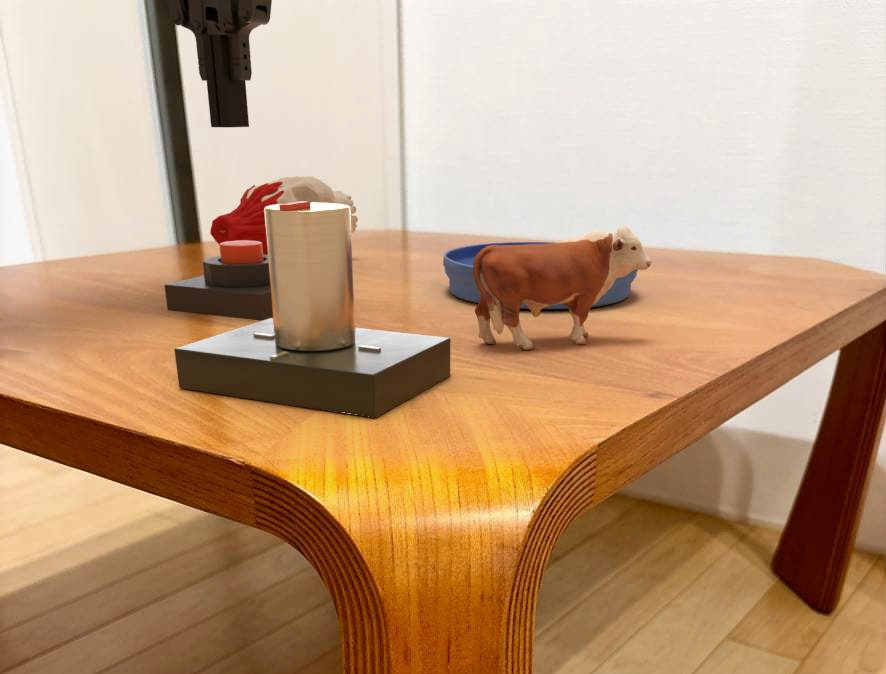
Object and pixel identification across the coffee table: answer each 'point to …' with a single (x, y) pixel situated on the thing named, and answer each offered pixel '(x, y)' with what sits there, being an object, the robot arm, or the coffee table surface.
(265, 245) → the red cream irregular piece
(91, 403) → the coffee table surface
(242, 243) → the button
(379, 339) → the dial panel
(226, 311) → the button box
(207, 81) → the robot arm
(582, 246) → the bull figurine
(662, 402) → the coffee table surface
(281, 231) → the knob
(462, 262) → the bowl
